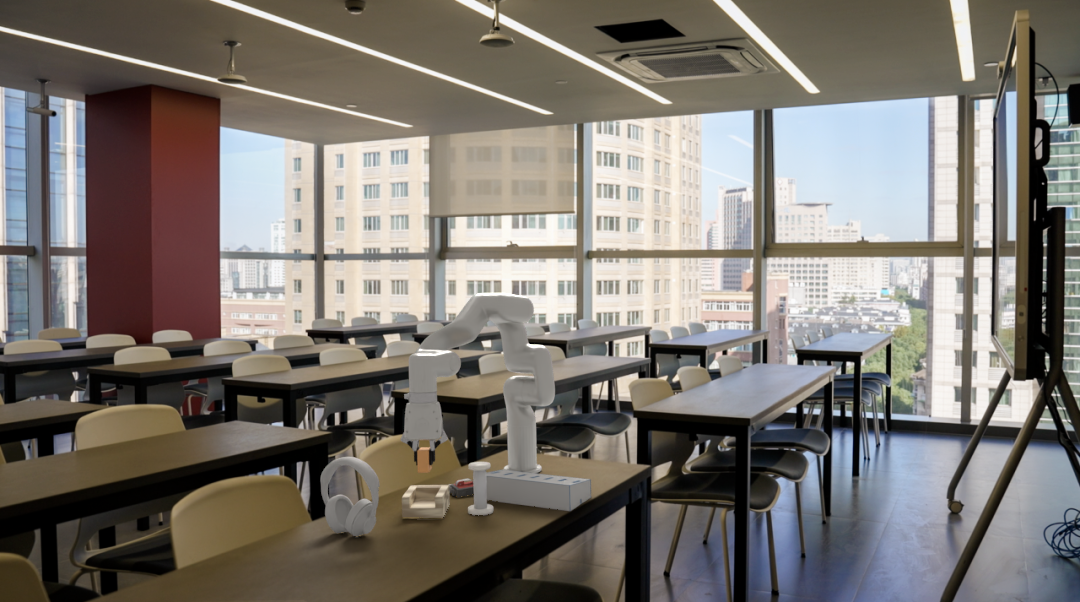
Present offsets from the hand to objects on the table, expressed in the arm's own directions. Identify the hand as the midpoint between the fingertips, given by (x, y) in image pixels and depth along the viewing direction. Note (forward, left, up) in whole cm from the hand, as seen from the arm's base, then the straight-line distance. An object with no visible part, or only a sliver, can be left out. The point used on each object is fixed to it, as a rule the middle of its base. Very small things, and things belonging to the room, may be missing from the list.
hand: (424, 463), depth 214 cm
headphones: (+18, -16, -14) cm, 28 cm away
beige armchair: (0, 0, -14) cm, 14 cm away
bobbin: (0, +15, -14) cm, 20 cm away
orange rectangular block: (0, 0, -2) cm, 2 cm away
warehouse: (-13, +29, -14) cm, 35 cm away
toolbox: (-19, +7, -14) cm, 25 cm away
